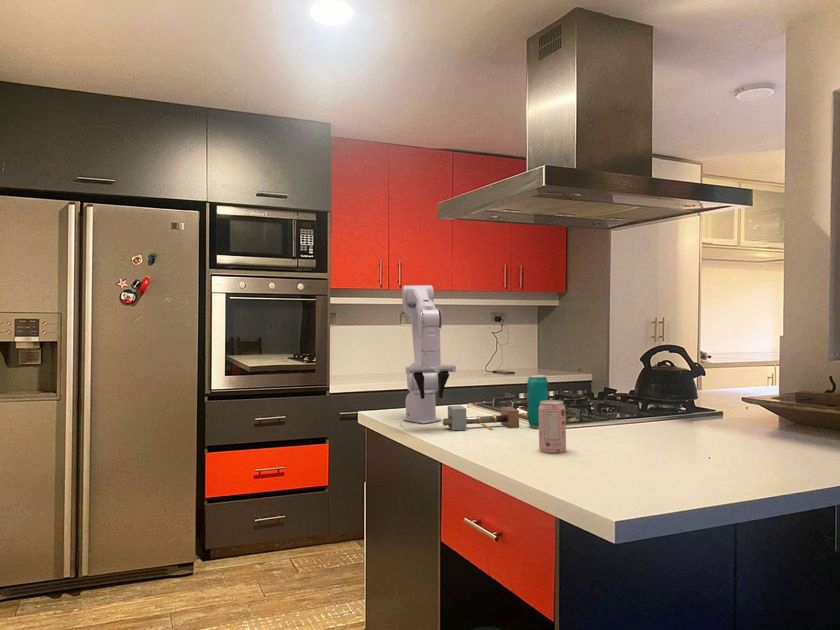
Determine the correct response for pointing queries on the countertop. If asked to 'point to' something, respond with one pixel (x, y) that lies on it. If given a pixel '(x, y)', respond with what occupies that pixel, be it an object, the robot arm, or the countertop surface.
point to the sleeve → (457, 417)
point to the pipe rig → (493, 419)
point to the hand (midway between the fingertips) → (431, 397)
